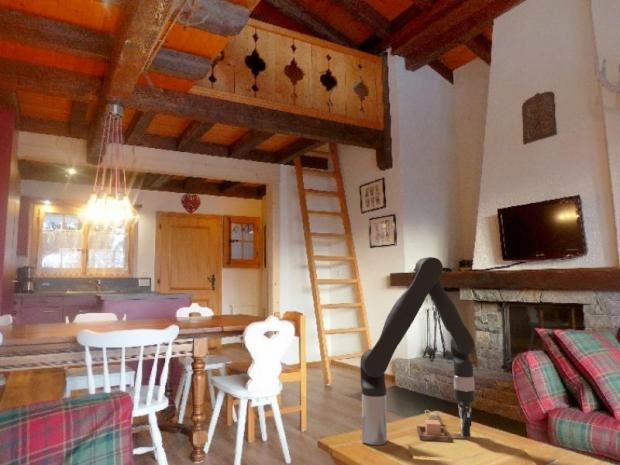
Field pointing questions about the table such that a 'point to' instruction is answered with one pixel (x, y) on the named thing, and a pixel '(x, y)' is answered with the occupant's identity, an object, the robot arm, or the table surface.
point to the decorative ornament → (434, 417)
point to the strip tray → (442, 434)
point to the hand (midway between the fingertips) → (465, 434)
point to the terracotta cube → (433, 427)
